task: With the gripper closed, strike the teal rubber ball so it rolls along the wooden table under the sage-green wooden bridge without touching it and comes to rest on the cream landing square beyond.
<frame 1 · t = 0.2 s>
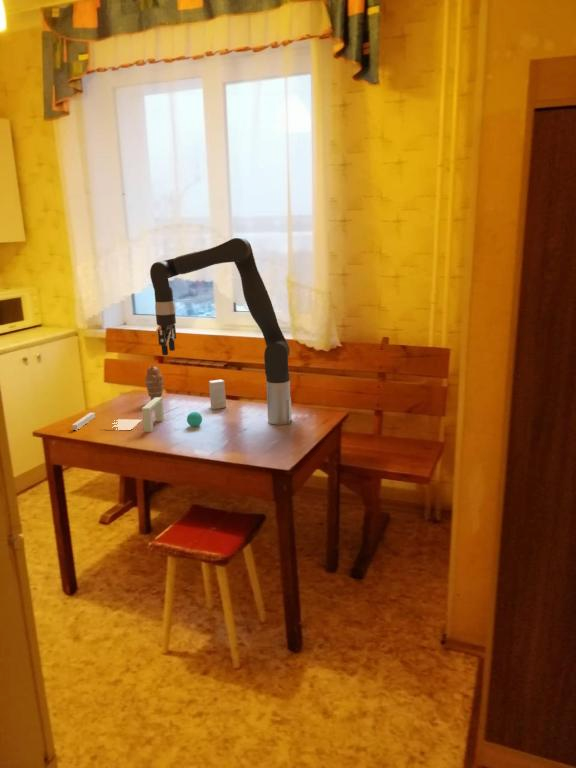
hand: (168, 352, 241), 29 cm above the table, tool pointing down, fingers open, 8 cm apart
skincare box: (218, 407, 264), on the table
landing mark: (121, 425, 244), on the table
bridge: (154, 425, 242), on the table
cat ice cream: (156, 403, 272), on the table
stopper: (84, 424, 246), on the table
ball: (194, 419, 239), on the table
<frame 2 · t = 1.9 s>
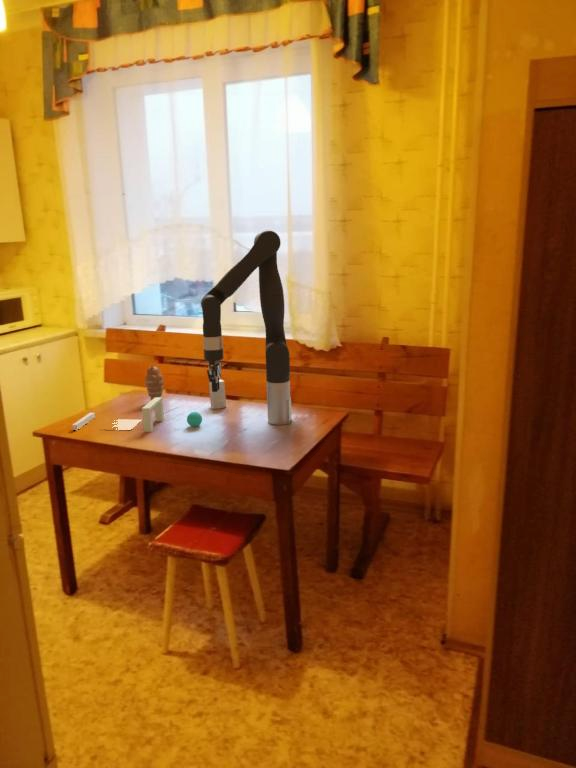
hand: (215, 390, 234), 15 cm above the table, tool pointing down, fingers closed
nothing on the table moved.
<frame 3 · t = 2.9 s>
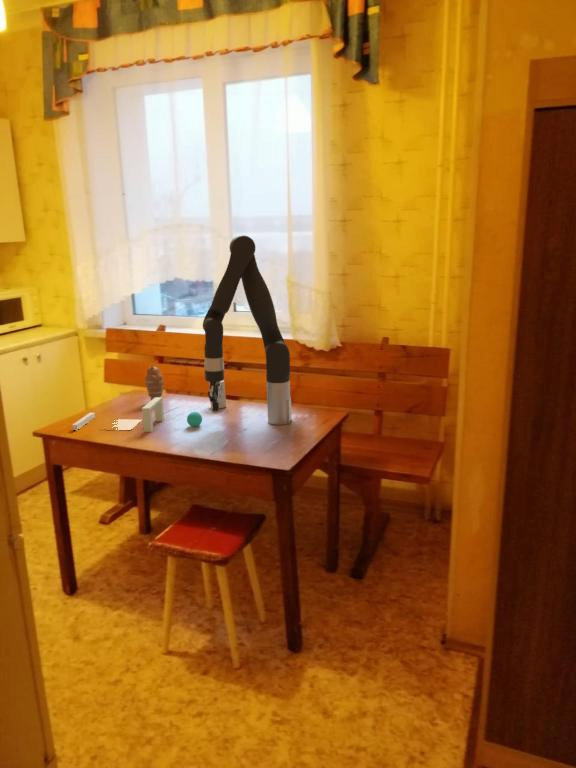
hand: (215, 410, 236), 7 cm above the table, tool pointing down, fingers closed
nothing on the table moved.
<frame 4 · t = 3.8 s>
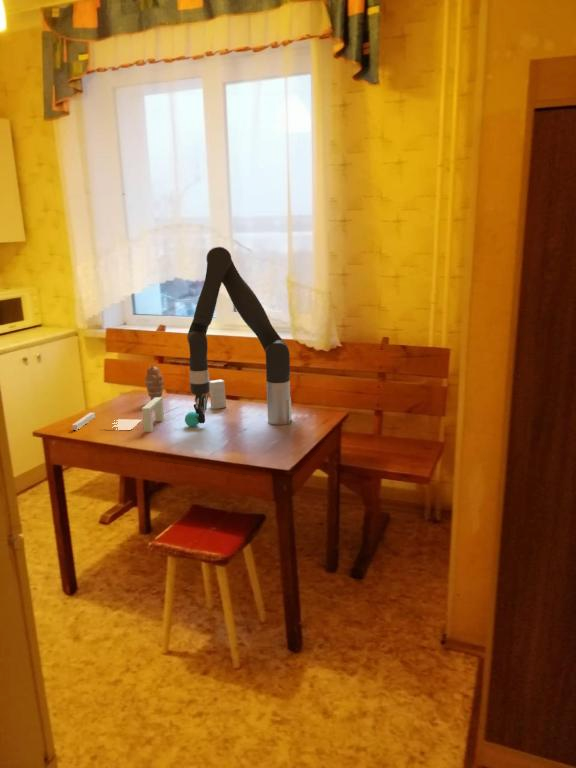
hand: (202, 422, 238), 2 cm above the table, tool pointing down, fingers closed
ball: (192, 419, 239), on the table, touching gripper
everything else where it was.
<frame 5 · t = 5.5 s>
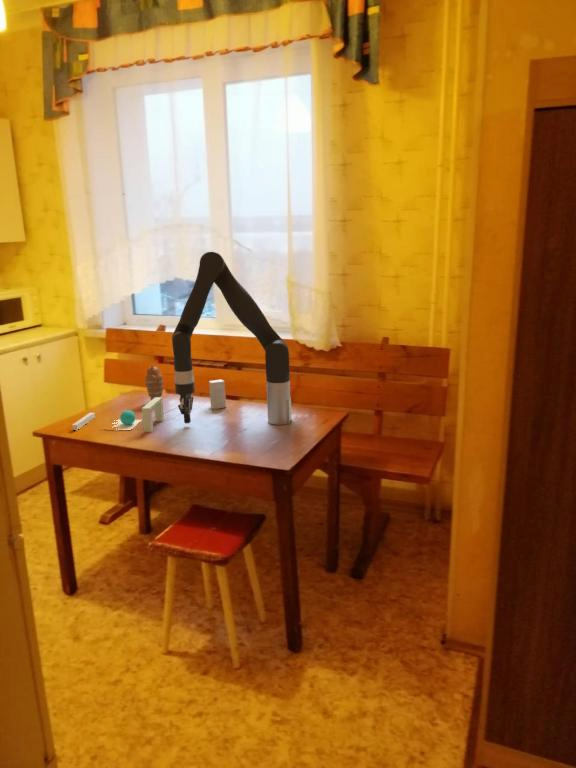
hand: (187, 422, 239), 2 cm above the table, tool pointing down, fingers closed
ball: (127, 417, 243), on the table
everything else where it was.
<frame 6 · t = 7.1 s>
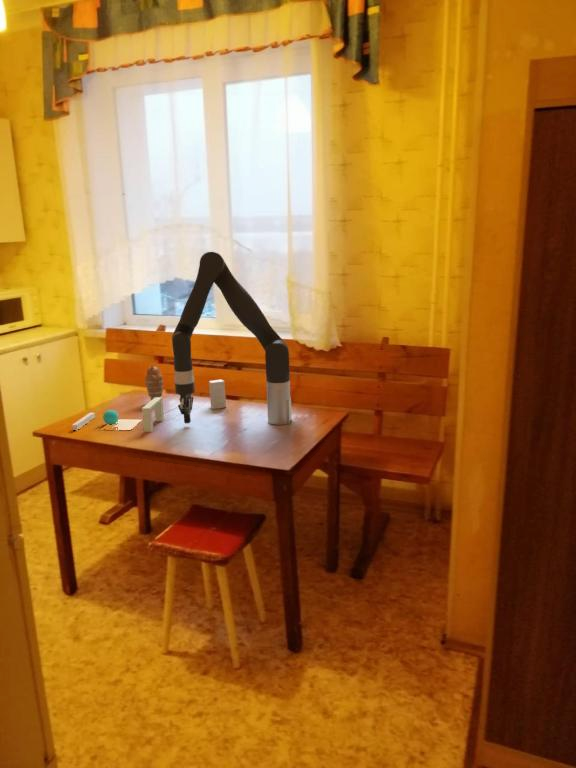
hand: (187, 422, 239), 2 cm above the table, tool pointing down, fingers closed
ball: (110, 417, 244), on the table
everything else where it was.
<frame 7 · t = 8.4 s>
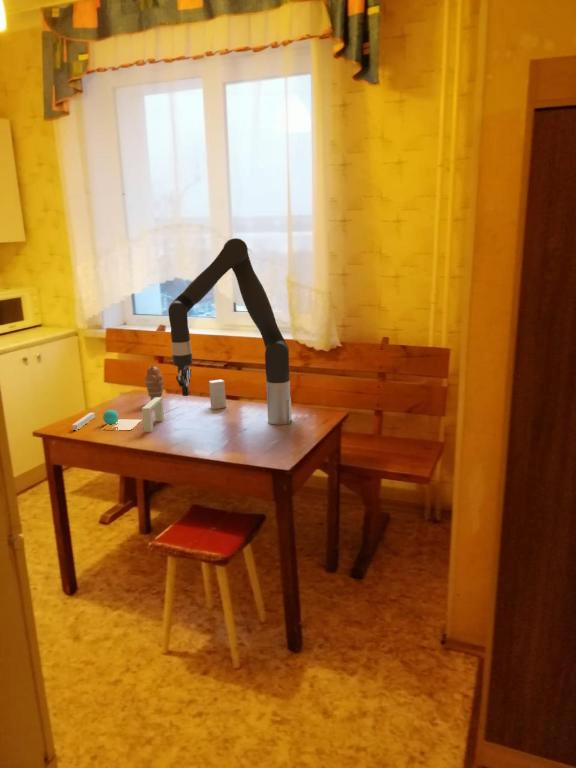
hand: (185, 395, 236), 13 cm above the table, tool pointing down, fingers closed
nothing on the table moved.
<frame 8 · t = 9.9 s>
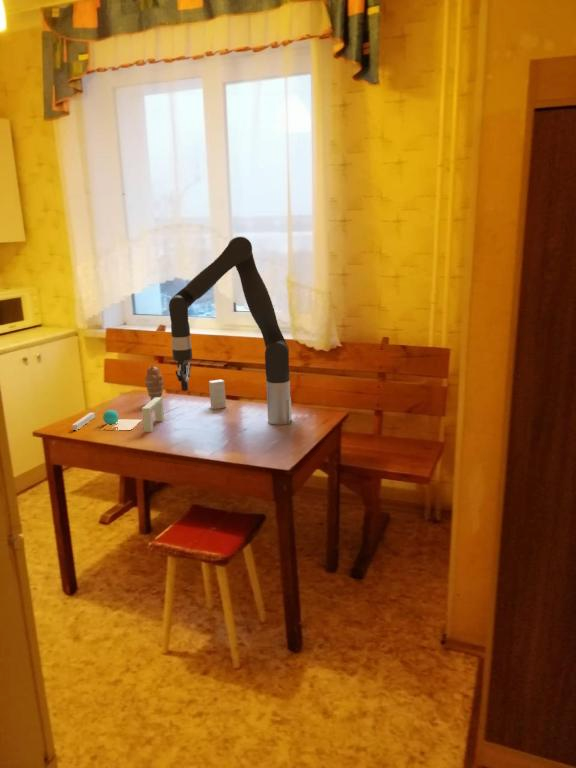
hand: (185, 390, 236), 15 cm above the table, tool pointing down, fingers closed
nothing on the table moved.
at the end: ball 4.6 cm from the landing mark (horizontally); ball never touched bridge; ball at rest at the end (0.0 cm/s) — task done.
